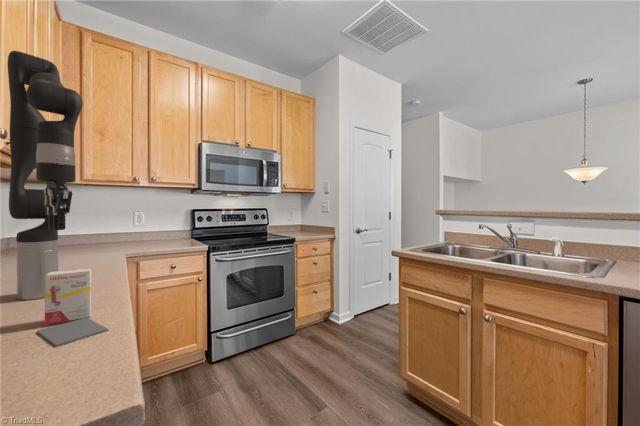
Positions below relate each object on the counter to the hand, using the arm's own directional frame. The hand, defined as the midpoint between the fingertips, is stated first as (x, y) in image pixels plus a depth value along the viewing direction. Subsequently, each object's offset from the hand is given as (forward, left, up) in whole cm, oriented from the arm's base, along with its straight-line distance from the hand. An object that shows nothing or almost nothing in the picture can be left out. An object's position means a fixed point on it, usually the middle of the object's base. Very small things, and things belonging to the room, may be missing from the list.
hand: (56, 229), depth 74 cm
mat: (+17, -2, -22) cm, 28 cm away
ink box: (+8, 0, -22) cm, 24 cm away
